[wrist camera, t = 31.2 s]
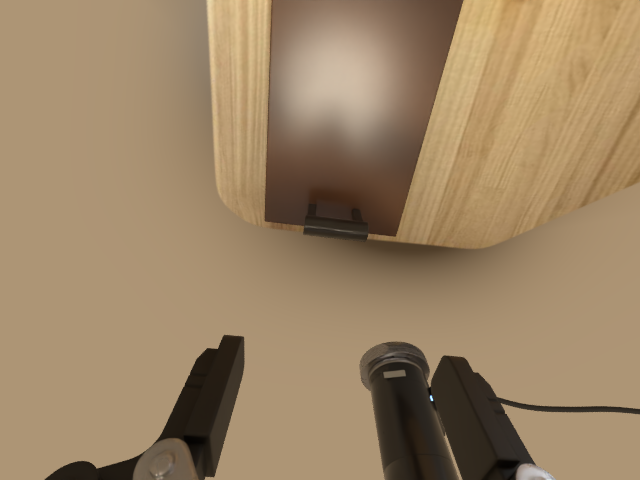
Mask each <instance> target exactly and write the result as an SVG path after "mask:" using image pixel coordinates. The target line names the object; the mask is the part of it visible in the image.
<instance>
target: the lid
mask: <svg viewBox="0 0 640 480" xmlns="http://www.w3.org/2000/svg"><path fill="white" fill-rule="evenodd" d="M462 3H463V0H272V10H271V40H270V71H269V101H268V132H267V163H266V193H265V221H267V222H275V223H284V224H292V225H301V226H304V231H303V234H304V235H311V236H320V237H328V238H337V239H345V240H354V241H363V242H365V241H366V240H367V237H368V233H369V234H378V235H386V236H396V234H397V230H398V227H399V223H400V220H401V216H402V213H403V209H404V206H405V203H406V199H407V196H408V192H409V189H410V185H411V182H412V178H413V175H414V171H415V168H416V164H417V161H418V157H419V154H420V150H421V147H422V143H423V140H424V136H425V133H426V129H427V126H428V122H429V119H430V115H431V112H432V108H433V105H434V101H435V98H436V94H437V91H438V87H439V84H440V80H441V77H442V73H443V70H444V66H445V63H446V59H447V56H448V52H449V49H450V45H451V42H452V38H453V35H454V31H455V28H456V24H457V21H458V17H459V14H460V10H461V7H462Z"/></svg>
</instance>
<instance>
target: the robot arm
mask: <svg viewBox="0 0 640 480" xmlns="http://www.w3.org/2000/svg"><path fill="white" fill-rule="evenodd" d="M243 370H244V337H242V336H231V335H224V336H223V338H222V340H221V343H220V345H219V348H218V349H211V348H207V349H206V350H205V351H204V352H203V353H202V354H201V355H200V356H199V357H198V358H197V360H196V362H195V364H194V366H193V368H192V370H191V372H190V375H189V377H188V379H187V381H186V383H185V386H184V387H183V389H182V391H181V394H180V396H179V398H178V400H177V402H176V404H175V406H174V408H173V411H172V413H171V415H170V417H169V419H168V422H167V424H166V426H165V428H164V430H163V432H162V434H161V435H160V437H159V438H158V440H157V441H156V442H155V443H154V444H153V445H152V446H151V447H150V448H149V449H147V450H146V451H145V452H143V453H142V454H140V455H139V456H137V457H134V458H132V459H129V460H126V461H123V462H119V463H116V464H112V465H109V466H105V467H102V468H98V469H96V467H95V466H94V465H93V464H92V463H90V462H86V461H78V462H74V463H70V464H68V465H66V466H63V467H62V468H60V469H58V470H57V471H55V472H54V473H53V474H51V475H50V476H48V477H47V478H46V479H45V480H204V479H205V477H214V476H215V473H216V469H217V465H218V462H219V458H220V455H221V451H222V448H223V444H224V441H225V437H226V433H227V430H228V426H229V423H230V419H231V415H232V412H233V408H234V405H235V401H236V398H237V394H238V390H239V387H240V383H241V380H242V375H243ZM368 379H369V385H370V389H371V395H372V402H373V408H374V415H375V421H376V428H377V434H378V440H379V446H380V453H381V459H382V465H383V472H384V477H385V480H459V478H458V475H457V472H456V469H455V467H454V464H453V461H452V458H451V455H450V452H449V449H448V446H447V443H446V441H445V438H444V436H445V432H446V435H447V438H448V440H449V443H450V446H451V449H452V452H453V454H454V457H455V460H456V463H457V466H458V468H459V471H460V474H461V477H462V479H463V480H556V479H555V478H554V477H553V476H552V475H550V474H549V473H548V472H546V471H545V470H544V469H542V468H540V467H538V466H536V464H535V463H534V461H533V460H532V458H531V457H530V455H529V453H528V451H527V449H526V448H525V446H524V444H523V442H522V441H521V439H520V437H519V435H518V434H517V432H516V430H515V428H514V427H513V425H512V423H511V421H510V419H509V418H508V416H507V414H505V411H504V409H503V407H502V405H501V404H500V403H502V404H506V405H510V406H513V407H517V408H522V409H527V410H534V411H545V412H546V411H547V412H622V413H633V414H640V409H633V408H622V407H607V406H594V407H593V406H592V407H551V406H550V407H549V406H535V405H527V404H521V403H517V402H513V401H509V400H505V399H502V398H498V397H496V395H495V393H494V391H493V390H492V388H491V386H490V385H489V384H488V383H487V382H486V381H485V379H484V378H483V377H482V376H481V375H480V374H479V373H474V372H473V371H472V369H471V367H470V365H469V363H468V361H467V360H466V359H465V358H463V357H454V356H443V357H442V358H441V361H440V363H439V365H438V367H437V369H436V371H435V373H434V376H433V378H432V381H431V387H430V388H429V385H428V382H427V379H426V377H425V376H424V375H423V372H422V369H421V367H420V366H419V365H418V364H417V363H416V362H414V361H412V360H410V359H406V358H390V359H386V360H383V361H381V362H379V363H377V364H376V365H375V366H373V367H372V369H371V370H370V372H369V375H368ZM440 418H441V419H440ZM441 421H442V422H441ZM442 424H443V425H442ZM444 429H445V430H444Z"/></svg>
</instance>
